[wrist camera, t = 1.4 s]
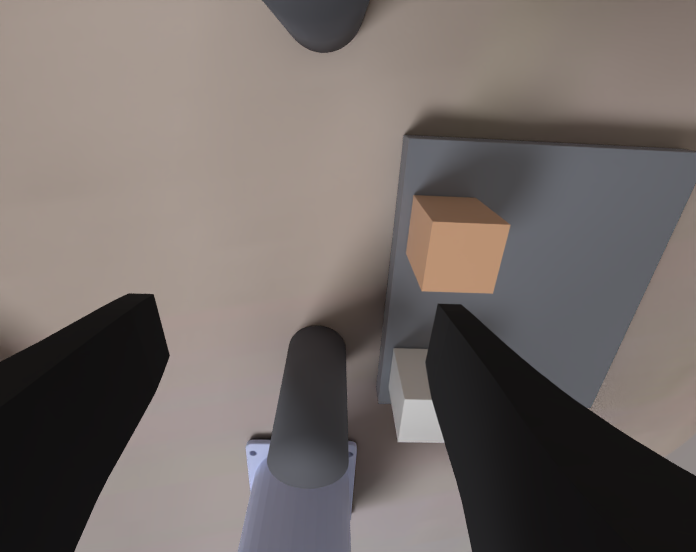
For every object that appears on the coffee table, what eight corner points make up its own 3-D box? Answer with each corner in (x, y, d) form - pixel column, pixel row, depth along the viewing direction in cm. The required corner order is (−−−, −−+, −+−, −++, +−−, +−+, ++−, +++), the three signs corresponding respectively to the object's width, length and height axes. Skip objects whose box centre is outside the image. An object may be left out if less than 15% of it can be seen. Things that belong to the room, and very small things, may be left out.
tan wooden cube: (463, 255, 19) (493, 293, 15) (405, 253, 19) (421, 291, 15) (475, 197, 18) (510, 224, 14) (413, 195, 17) (432, 221, 14)
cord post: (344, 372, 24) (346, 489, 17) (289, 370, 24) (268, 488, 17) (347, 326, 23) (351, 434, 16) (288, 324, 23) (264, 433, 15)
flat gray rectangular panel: (577, 391, 25) (590, 407, 24) (376, 386, 25) (378, 403, 24) (682, 148, 18) (709, 153, 17) (403, 134, 18) (409, 138, 16)
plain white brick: (436, 388, 23) (454, 442, 19) (388, 387, 23) (397, 442, 19) (444, 349, 22) (465, 400, 18) (393, 348, 21) (404, 399, 18)
